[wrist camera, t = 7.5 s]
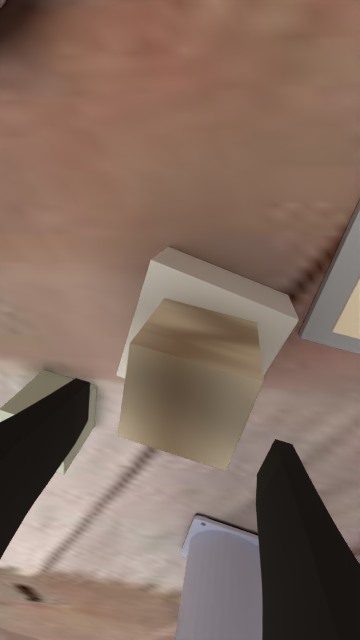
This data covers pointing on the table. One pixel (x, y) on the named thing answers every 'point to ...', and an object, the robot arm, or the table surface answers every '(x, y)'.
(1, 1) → the lidded bowl
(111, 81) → the table surface
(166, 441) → the birch cube
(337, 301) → the card
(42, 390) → the sage cube
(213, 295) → the base block
